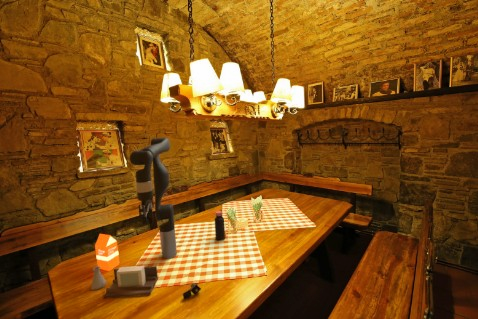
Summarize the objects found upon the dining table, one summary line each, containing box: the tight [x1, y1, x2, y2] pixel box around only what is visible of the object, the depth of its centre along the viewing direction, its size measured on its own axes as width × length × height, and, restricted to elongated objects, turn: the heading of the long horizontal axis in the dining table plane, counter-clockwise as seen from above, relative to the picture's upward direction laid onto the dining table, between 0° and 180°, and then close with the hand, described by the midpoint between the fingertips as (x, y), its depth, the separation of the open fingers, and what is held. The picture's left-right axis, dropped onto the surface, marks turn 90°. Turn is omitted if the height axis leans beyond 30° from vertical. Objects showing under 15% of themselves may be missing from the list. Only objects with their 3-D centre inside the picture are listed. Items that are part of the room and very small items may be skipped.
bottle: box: [214, 210, 226, 241], centre depth 164 cm, size 7×7×20 cm
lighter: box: [182, 282, 202, 300], centre depth 108 cm, size 8×2×5 cm
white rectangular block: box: [117, 265, 146, 287], centre depth 115 cm, size 12×4×9 cm, turn 92°
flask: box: [90, 265, 107, 291], centre depth 119 cm, size 7×7×10 cm
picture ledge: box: [103, 265, 159, 299], centre depth 116 cm, size 12×22×8 cm, turn 92°
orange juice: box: [94, 233, 120, 272], centre depth 136 cm, size 8×9×20 cm
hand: (148, 220), depth 118 cm, fingers open, 8 cm apart
